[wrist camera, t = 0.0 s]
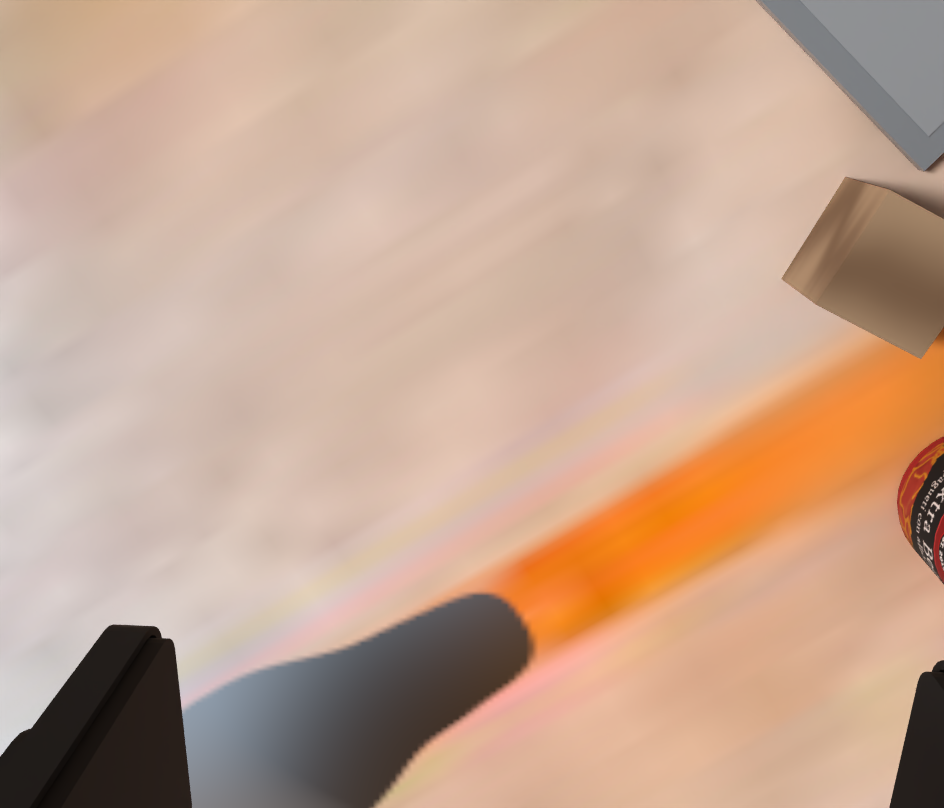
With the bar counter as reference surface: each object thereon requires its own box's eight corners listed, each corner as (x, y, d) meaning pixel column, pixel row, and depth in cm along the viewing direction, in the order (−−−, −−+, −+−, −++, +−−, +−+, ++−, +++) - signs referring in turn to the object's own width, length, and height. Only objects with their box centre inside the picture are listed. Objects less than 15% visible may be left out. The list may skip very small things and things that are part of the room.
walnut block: (844, 176, 39) (890, 189, 34) (940, 228, 39) (999, 249, 35) (780, 278, 40) (815, 304, 36) (874, 327, 41) (920, 359, 36)
